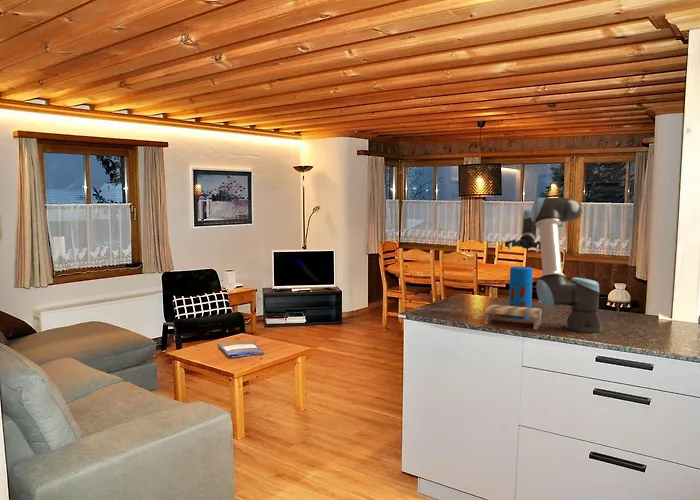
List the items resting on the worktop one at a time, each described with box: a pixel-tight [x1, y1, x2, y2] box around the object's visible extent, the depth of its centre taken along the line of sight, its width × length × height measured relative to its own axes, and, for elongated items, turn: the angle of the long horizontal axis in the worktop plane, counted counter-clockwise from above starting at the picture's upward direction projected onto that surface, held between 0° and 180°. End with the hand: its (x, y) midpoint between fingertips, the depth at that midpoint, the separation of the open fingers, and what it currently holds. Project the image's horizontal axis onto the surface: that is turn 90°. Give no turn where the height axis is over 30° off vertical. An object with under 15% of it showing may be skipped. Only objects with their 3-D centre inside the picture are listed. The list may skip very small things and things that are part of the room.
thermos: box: [508, 266, 534, 320], centre depth 280 cm, size 11×11×25 cm
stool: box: [484, 303, 542, 330], centre depth 266 cm, size 24×14×7 cm, turn 64°
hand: (523, 248), depth 284 cm, fingers open, 13 cm apart
